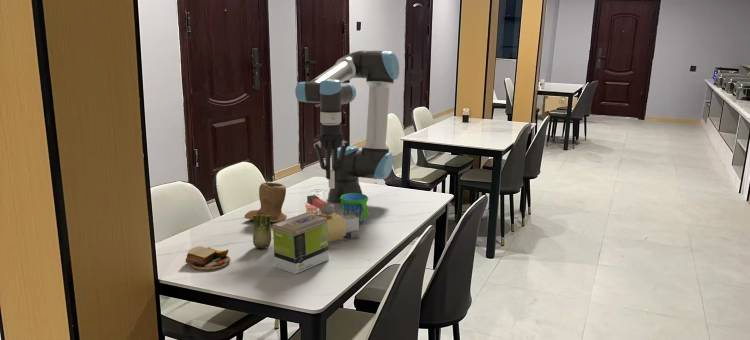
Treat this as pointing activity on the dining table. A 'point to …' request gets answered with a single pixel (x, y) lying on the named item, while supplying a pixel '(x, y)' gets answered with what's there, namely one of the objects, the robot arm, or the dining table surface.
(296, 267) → the tea box
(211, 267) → the toy sandwich meal
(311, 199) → the lever
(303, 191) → the dining table surface
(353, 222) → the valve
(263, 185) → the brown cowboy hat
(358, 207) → the snack cup
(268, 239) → the fennel bulb
